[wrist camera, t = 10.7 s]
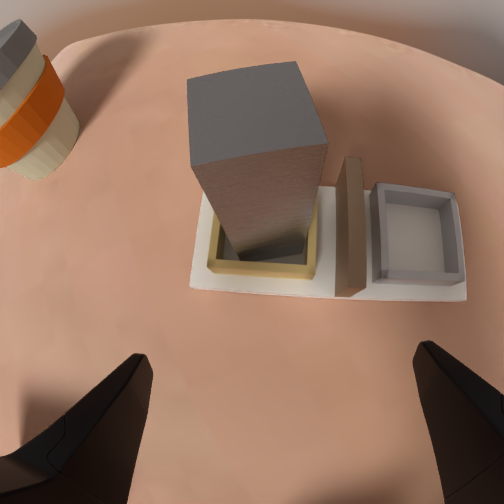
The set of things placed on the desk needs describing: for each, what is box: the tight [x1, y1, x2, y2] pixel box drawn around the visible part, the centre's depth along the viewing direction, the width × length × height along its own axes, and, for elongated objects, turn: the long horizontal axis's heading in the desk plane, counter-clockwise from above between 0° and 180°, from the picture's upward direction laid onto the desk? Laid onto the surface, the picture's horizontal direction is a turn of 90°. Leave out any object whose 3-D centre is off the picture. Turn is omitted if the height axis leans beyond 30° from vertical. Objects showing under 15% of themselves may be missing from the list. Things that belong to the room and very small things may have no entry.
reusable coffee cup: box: [0, 19, 80, 180], centre depth 19 cm, size 13×13×15 cm
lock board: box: [189, 157, 467, 302], centre depth 18 cm, size 20×8×5 cm, turn 85°
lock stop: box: [187, 61, 328, 262], centre depth 14 cm, size 4×4×12 cm
